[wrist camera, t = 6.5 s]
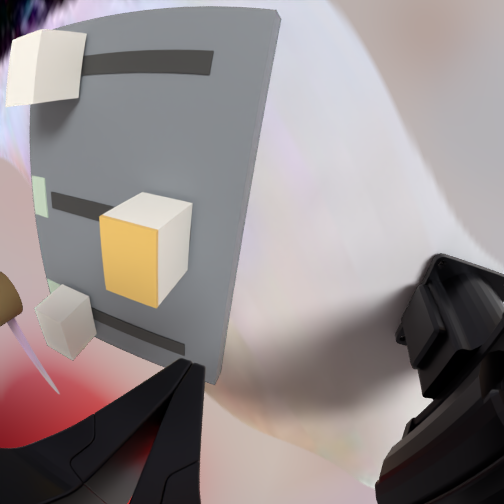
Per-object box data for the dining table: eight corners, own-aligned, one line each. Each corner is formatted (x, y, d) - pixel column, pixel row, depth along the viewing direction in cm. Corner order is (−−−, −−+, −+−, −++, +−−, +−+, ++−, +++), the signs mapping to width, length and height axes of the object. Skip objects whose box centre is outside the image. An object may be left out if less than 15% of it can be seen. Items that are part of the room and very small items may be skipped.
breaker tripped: (192, 202, 15) (156, 231, 12) (187, 270, 17) (156, 308, 14) (142, 192, 15) (99, 216, 12) (142, 256, 17) (106, 289, 14)
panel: (281, 18, 11) (275, 9, 10) (220, 371, 23) (214, 386, 22) (53, 34, 14) (37, 33, 12) (66, 308, 25) (56, 317, 24)
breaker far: (89, 296, 20) (60, 323, 17) (96, 333, 22) (73, 360, 19) (62, 284, 21) (34, 308, 18) (71, 321, 23) (47, 345, 20)
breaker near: (86, 33, 12) (42, 29, 9) (78, 98, 14) (33, 103, 11) (54, 41, 12) (12, 40, 9) (48, 99, 14) (5, 107, 11)
